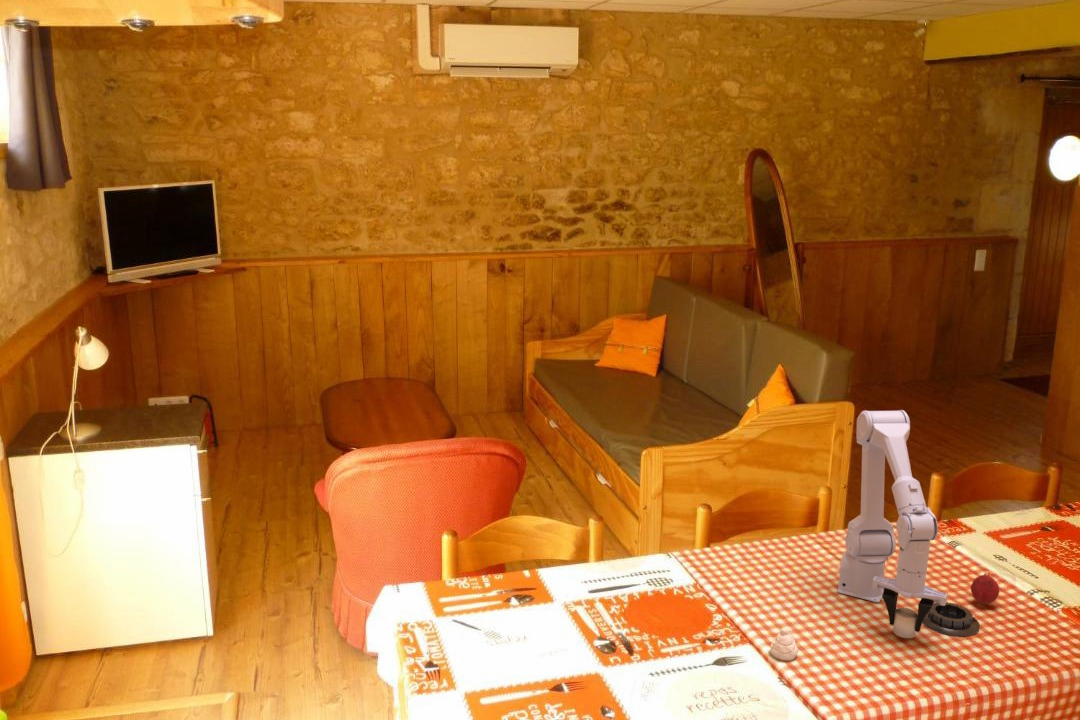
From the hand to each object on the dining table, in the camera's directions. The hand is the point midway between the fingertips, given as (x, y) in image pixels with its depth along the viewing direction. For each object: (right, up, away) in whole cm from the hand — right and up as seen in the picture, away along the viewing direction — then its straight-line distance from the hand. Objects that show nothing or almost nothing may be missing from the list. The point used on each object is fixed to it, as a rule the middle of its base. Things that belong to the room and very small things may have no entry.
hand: (905, 626), depth 202 cm
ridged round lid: (+12, -1, +7) cm, 14 cm away
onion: (+23, +1, +15) cm, 28 cm away
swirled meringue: (-27, -4, -7) cm, 29 cm away
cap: (0, -1, 0) cm, 2 cm away
